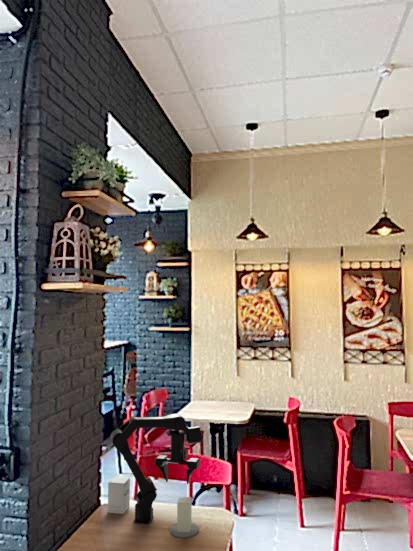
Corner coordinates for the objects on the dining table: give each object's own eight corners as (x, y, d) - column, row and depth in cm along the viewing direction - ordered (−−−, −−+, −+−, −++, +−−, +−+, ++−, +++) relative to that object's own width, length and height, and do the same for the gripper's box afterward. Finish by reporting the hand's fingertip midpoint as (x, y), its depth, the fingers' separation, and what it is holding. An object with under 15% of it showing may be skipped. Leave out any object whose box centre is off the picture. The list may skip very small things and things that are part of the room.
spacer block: (177, 531, 172) (177, 502, 173) (178, 525, 177) (178, 496, 178) (190, 532, 172) (190, 502, 173) (191, 525, 177) (191, 497, 178)
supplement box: (123, 514, 189) (123, 483, 190) (107, 512, 190) (107, 482, 191) (130, 506, 196) (130, 477, 197) (114, 505, 197) (114, 475, 198)
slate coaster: (166, 535, 171) (166, 533, 171) (175, 522, 181) (175, 520, 181) (193, 539, 168) (193, 537, 168) (201, 525, 179) (201, 524, 179)
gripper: (203, 441, 195) (203, 477, 194) (163, 437, 200) (163, 473, 199) (196, 448, 185) (196, 487, 184) (154, 445, 190) (154, 483, 188)
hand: (177, 482), depth 189 cm, fingers open, 9 cm apart
